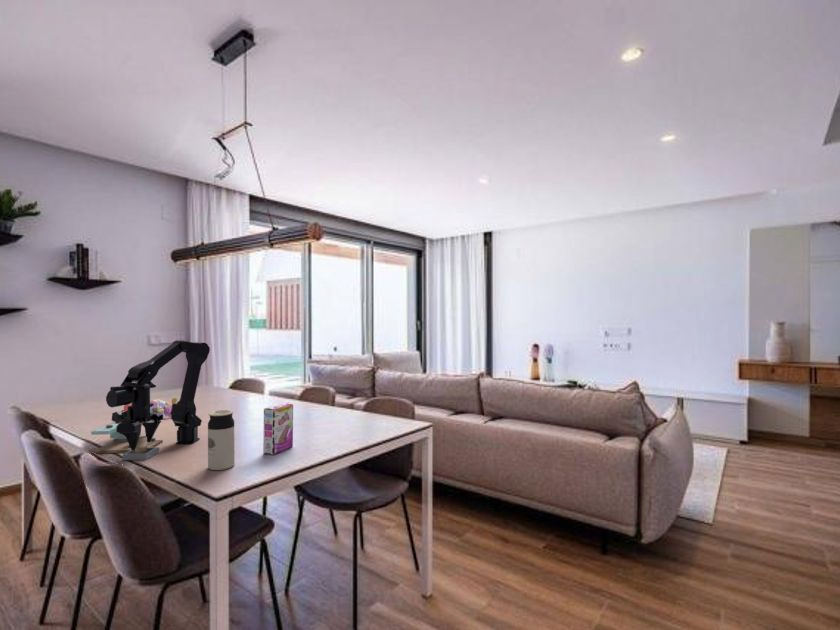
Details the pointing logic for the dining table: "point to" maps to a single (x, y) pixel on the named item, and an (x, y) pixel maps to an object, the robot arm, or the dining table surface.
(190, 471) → the dining table surface
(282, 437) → the candy bar box
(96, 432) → the teal lid
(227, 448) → the travel mug
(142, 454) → the slate tray
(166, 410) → the pastel sphere sculpture
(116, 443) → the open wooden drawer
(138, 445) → the maple peg
